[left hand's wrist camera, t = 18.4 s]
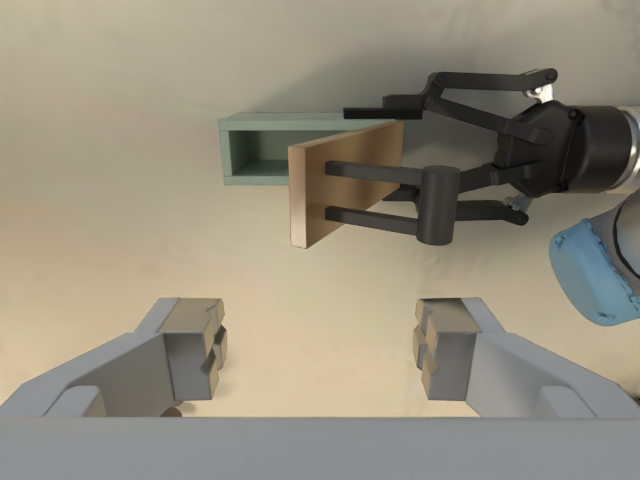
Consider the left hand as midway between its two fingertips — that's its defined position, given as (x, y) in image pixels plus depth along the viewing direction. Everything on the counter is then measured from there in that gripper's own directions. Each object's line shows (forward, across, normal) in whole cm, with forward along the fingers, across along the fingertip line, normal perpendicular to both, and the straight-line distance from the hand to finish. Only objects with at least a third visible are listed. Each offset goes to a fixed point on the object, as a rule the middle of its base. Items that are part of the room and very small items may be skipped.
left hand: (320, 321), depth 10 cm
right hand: (+28, -2, 0) cm, 28 cm away
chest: (+34, +1, 0) cm, 35 cm away
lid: (+19, -2, 0) cm, 19 cm away
